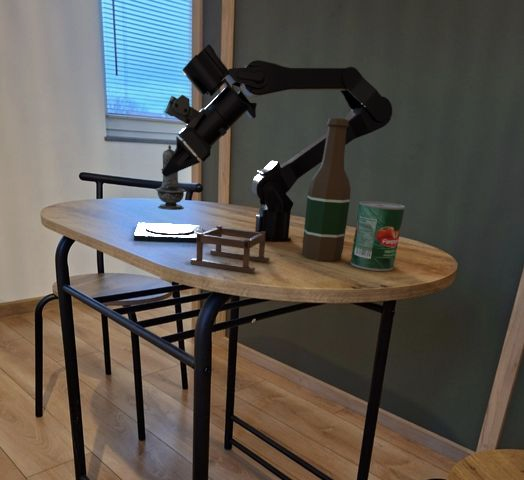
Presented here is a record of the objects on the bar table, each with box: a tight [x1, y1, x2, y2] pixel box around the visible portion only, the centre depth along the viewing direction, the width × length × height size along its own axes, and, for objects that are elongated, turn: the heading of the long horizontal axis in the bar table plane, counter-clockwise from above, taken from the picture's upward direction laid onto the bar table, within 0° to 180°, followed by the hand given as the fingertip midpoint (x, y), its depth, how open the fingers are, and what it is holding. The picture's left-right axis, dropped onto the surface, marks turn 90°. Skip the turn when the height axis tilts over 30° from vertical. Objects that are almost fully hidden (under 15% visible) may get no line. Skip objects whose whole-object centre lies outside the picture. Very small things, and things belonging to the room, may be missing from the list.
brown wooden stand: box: [190, 225, 270, 274], centre depth 80 cm, size 9×11×5 cm
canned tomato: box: [349, 200, 406, 272], centre depth 85 cm, size 8×8×11 cm
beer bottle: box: [301, 117, 351, 262], centre depth 86 cm, size 8×8×24 cm
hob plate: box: [133, 222, 204, 244], centre depth 100 cm, size 14×14×1 cm
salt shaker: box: [155, 144, 186, 211], centre depth 95 cm, size 6×6×12 cm
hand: (163, 173), depth 95 cm, fingers closed on salt shaker, 3 cm apart
